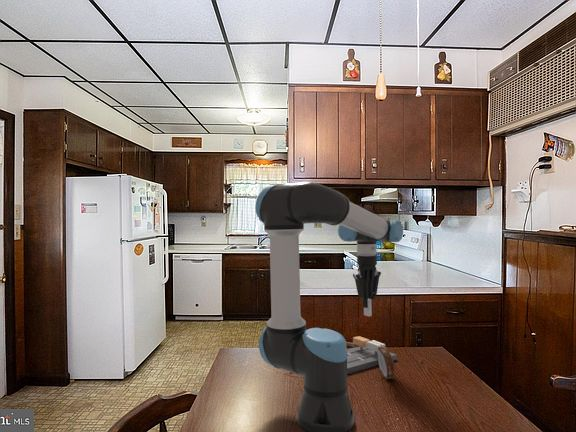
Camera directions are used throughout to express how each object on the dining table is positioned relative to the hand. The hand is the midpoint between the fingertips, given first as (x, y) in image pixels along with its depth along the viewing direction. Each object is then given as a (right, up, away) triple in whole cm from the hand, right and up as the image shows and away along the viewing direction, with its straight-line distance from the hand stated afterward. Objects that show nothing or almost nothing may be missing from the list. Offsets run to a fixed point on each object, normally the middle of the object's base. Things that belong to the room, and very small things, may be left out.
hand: (367, 315), depth 146 cm
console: (-6, -17, -2) cm, 18 cm away
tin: (+3, -17, -14) cm, 22 cm away
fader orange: (-1, -15, +5) cm, 16 cm away
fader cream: (+3, -15, -1) cm, 15 cm away
